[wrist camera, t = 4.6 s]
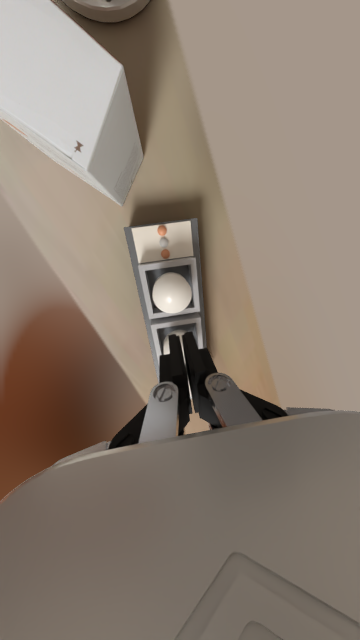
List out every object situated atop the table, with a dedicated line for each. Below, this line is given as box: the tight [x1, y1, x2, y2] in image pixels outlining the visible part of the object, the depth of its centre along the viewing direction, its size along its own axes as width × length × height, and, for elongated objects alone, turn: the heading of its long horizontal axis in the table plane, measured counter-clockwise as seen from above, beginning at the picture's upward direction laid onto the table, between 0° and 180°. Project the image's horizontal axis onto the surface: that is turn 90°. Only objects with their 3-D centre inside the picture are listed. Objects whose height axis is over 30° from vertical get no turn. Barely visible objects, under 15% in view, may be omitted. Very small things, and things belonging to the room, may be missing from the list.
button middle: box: [163, 330, 187, 361], centre depth 21 cm, size 4×4×2 cm
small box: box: [0, 0, 143, 206], centre depth 14 cm, size 8×6×10 cm
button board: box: [124, 218, 207, 399], centre depth 24 cm, size 24×8×5 cm, turn 7°
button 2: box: [153, 272, 192, 313], centre depth 19 cm, size 4×4×2 cm
